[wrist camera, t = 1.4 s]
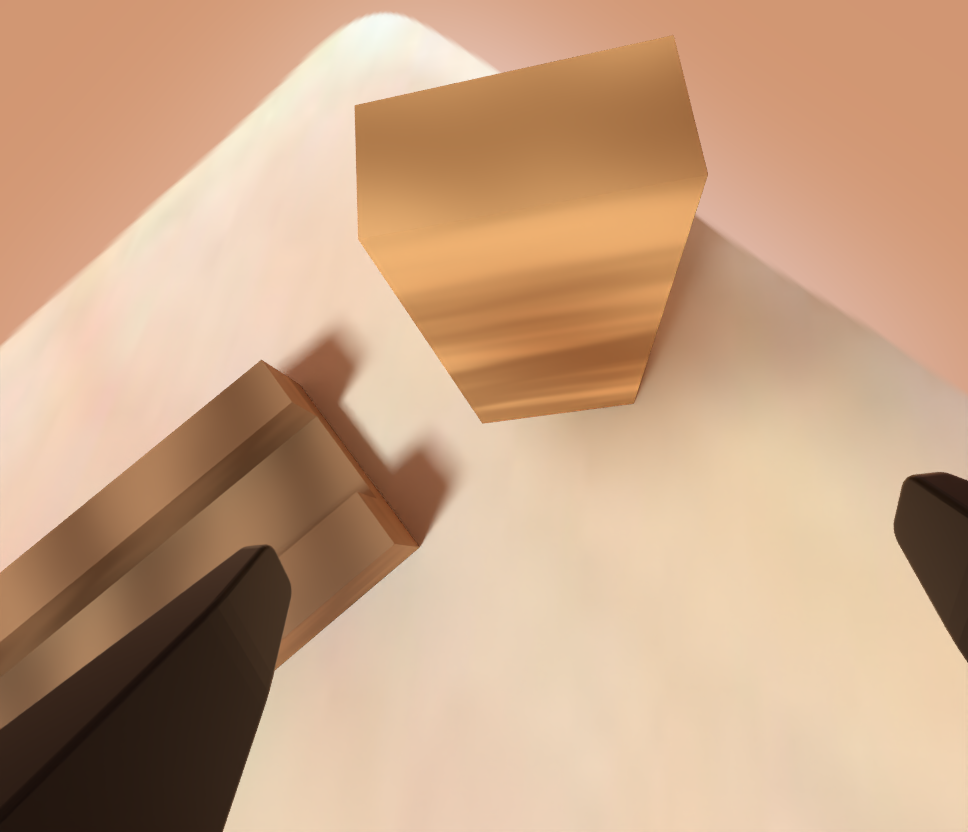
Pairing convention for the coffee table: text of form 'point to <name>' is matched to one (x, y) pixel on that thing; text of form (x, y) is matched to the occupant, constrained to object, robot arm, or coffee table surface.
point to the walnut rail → (200, 535)
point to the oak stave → (536, 222)
